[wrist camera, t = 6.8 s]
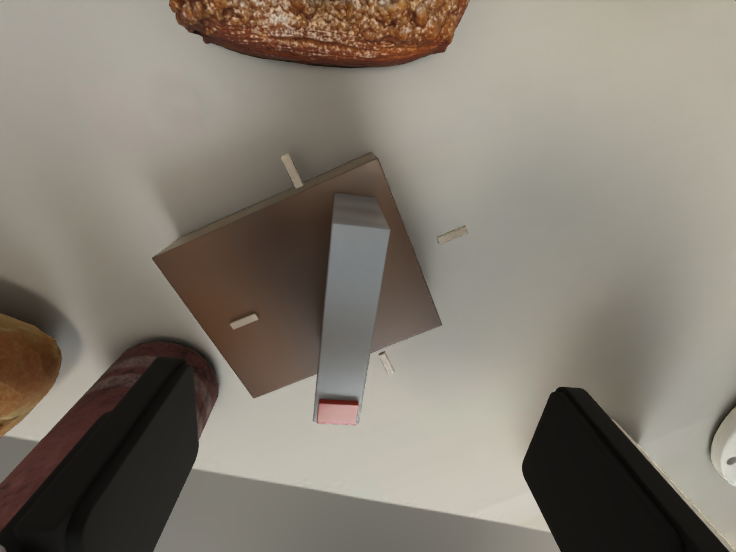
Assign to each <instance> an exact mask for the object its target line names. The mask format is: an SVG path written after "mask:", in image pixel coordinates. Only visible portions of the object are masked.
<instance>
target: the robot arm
mask: <svg viewBox="0 0 736 552" xmlns="http://www.w3.org/2000/svg"><path fill="white" fill-rule="evenodd" d="M198 448H199V442H198V428H197V414H196V400H195V386H194V372H193V367H192V365H187V364H186V360H185V359H184V358H175V357H162V356H160V357H157V358H156V359H155V360H154V361H153V362H152V363H151V365H150V366H149V367H148V368H147V369H146V371H145V372H144V373H143V374H142V375H141V377H140V378H139V379H138V380H137V381H136V382H135V384H134V385H133V386H132V387H131V388H130V390H129V391H128V392H127V393H126V394H125V396H124V397H123V398H122V399H121V400H120V402H119V403H118V404H117V405H116V406H115V407H114V409H113V410H112V411H108V412H106V413H104V414H103V415H102V416H101V417H100V418H98V419H97V421H96V422H95V423H94V424H93V425H92V426H91V428H90V429H89V430H88V431H87V432H86V433H85V434H84V436H83V437H82V438H81V439H80V440H79V441H78V443H77V444H76V445H75V446H74V447H73V448H72V450H71V451H70V452H69V453H68V454H67V455H66V456H65V458H64V459H63V460H62V461H61V462H60V463H59V465H58V466H57V467H56V468H55V469H54V470H53V471H52V473H51V474H50V475H49V476H48V477H47V478H46V480H45V481H44V482H43V483H42V484H41V485H40V487H39V488H38V489H37V490H36V491H35V492H34V493H33V495H32V496H31V497H30V498H29V499H28V500H27V502H26V503H25V504H24V505H23V506H22V507H21V508H20V510H19V511H18V512H17V513H16V514H15V515H14V517H13V518H12V519H11V520H10V521H9V522H8V524H7V525H6V526H5V527H4V528H3V529H2V530H1V532H0V552H153V550H154V548H155V546H156V544H157V542H158V539H159V537H160V535H161V533H162V531H163V529H164V527H165V525H166V522H167V520H168V518H169V516H170V514H171V512H172V509H173V507H174V505H175V503H176V501H177V499H178V497H179V494H180V492H181V490H182V488H183V486H184V484H185V482H186V479H187V477H188V475H189V473H190V471H191V469H192V467H193V464H194V462H195V460H196V457H197V453H198ZM711 460H712V463H713V466H714V467H715V469H716V470H717V472H718V473H719V474H720V475H721V476H723V477H724V478H725V479H726V480H727V481H728V482H729V483H730V484H731V485H733V486H735V487H736V407H735V408H734V409H733V410H732V411H731V412H730V413H729V414H728V415H727V417H726V418H725V419H724V420H723V422H722V423H721V425H720V426H719V428H718V430H717V432H716V434H715V436H714V439H713V442H712V445H711ZM522 472H523V476H524V478H525V480H526V482H527V484H528V486H529V488H530V490H531V492H532V494H533V496H534V498H535V500H536V502H537V504H538V506H539V508H540V510H541V512H542V514H543V516H544V519H545V521H546V523H547V525H548V527H549V529H550V531H551V533H552V535H553V536H554V539H555V541H556V543H557V545H558V546H559V549H560V551H561V552H730V551H729V550H728V549H727V548H726V547H725V546H724V545H723V544H722V542H721V541H720V540H719V539H718V538H717V537H716V536H715V535H714V533H713V532H712V531H711V530H710V529H709V528H708V527H707V526H706V525H705V523H704V522H703V521H702V520H701V519H700V518H699V517H698V516H697V514H696V513H695V512H694V511H693V510H692V509H691V508H690V507H689V506H688V504H687V503H686V502H685V501H684V500H683V499H682V498H681V497H680V495H679V494H678V493H677V492H676V491H675V490H674V489H673V488H672V486H671V485H670V484H669V483H668V482H667V481H666V480H665V479H664V478H663V476H662V475H661V474H660V473H659V472H658V471H657V470H656V469H655V467H654V466H653V465H652V464H651V463H650V462H649V461H648V460H647V458H646V457H645V456H644V455H643V454H642V453H641V452H640V451H639V450H638V448H637V447H636V446H635V445H634V444H633V443H632V442H631V441H630V439H629V438H628V437H627V436H626V435H625V434H624V433H623V432H622V430H621V429H620V428H619V427H618V426H617V425H616V424H615V423H614V422H613V420H612V419H611V418H610V417H609V416H608V415H607V414H606V413H605V411H604V410H603V409H602V408H601V407H600V406H599V405H598V404H597V402H596V401H595V400H594V399H593V398H592V397H591V396H590V395H589V394H588V392H586V391H585V390H584V389H581V388H571V387H559V388H558V389H556V391H555V392H552V393H551V394H550V396H549V399H548V401H547V404H546V406H545V408H544V411H543V413H542V416H541V418H540V421H539V423H538V426H537V428H536V431H535V433H534V436H533V438H532V441H531V443H530V445H529V448H528V450H527V453H526V455H525V458H524V460H523V463H522Z"/></svg>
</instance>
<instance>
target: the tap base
mask: <svg viewBox="0 0 736 552" xmlns="http://www.w3.org/2000/svg"><path fill="white" fill-rule="evenodd" d="M280 158H281V160H282V162H283V164H284V166H285V168H286V170H287V172H288V174H289V176H290V178H291V180H292V182H293V184H294V186H295V187H293V188H290V189H288V190H286V191H284V192H281V193H279V194H277V195H275V196H273V197H270V198H268V199H266V200H264V201H261V202H259V203H257V204H255V205H252V206H250V207H248V208H246V209H243V210H241V211H239V212H237V213H234V214H232V215H230V216H228V217H225V218H223V219H221V220H219V221H216V222H214V223H212V224H210V225H208V226H205V227H203V228H201V229H199V230H196V231H194V232H192V233H190V234H187V235H185V236H183V237H181V238H179V239H177V240H176V241H175V242H173V243H172V244H170V245H169V246H168V247H166V248H165V249H163V250H162V251H161V252H159V253H158V254H157V255H155V256H154V257H152V259H153V261H154V262H155V263H156V265H157V266H158V268H159V269H160V270H161V272H162V273H163V274H164V276H165V277H166V279H167V280H168V281H169V283H170V284H171V285H172V287H173V288H174V290H175V291H176V292H177V294H178V295H179V296H180V298H181V299H182V301H183V302H184V303H185V305H186V306H187V307H188V309H189V310H190V312H191V313H192V314H193V316H194V317H195V318H196V320H197V321H198V323H199V324H200V325H201V327H202V328H203V329H204V331H205V332H206V334H207V335H208V336H209V338H210V339H211V340H212V342H213V343H214V345H215V346H216V347H217V349H218V350H219V351H220V353H221V354H222V356H223V357H224V358H225V360H226V361H227V362H228V364H229V365H230V367H231V368H232V369H233V371H234V372H235V373H236V375H237V376H238V378H239V379H240V380H241V382H242V383H243V384H244V386H245V387H246V389H247V390H248V391H249V393H250V394H251V395H252V397H253V398H256V397H259V396H261V395H264V394H266V393H269V392H272V391H274V390H277V389H279V388H282V387H284V386H287V385H290V384H292V383H295V382H297V381H300V380H302V379H305V378H307V377H310V376H313V375H315V374H317V371H318V360H319V349H320V338H321V328H322V318H323V307H324V297H325V287H326V276H327V266H328V255H329V245H330V235H331V224H332V214H333V204H334V194H335V193H341V194H350V195H358V196H366V197H374V198H376V200H377V202H378V204H379V207H380V209H381V211H382V213H383V215H384V217H385V220H386V222H387V224H388V226H389V228H390V235H389V241H388V247H387V253H386V259H385V265H384V271H383V277H382V284H381V290H380V296H379V302H378V308H377V314H376V320H375V326H374V333H373V339H372V345H371V351H370V353H372V352H374V351H377V350H379V349H382V348H384V347H387V346H390V345H392V344H395V343H397V342H400V341H402V340H405V339H407V338H410V337H413V336H415V335H418V334H420V333H423V332H425V331H428V330H431V329H433V328H436V327H438V326H441V325H442V323H441V320H440V318H439V315H438V312H437V310H436V307H435V305H434V302H433V300H432V297H431V294H430V292H429V289H428V287H427V284H426V281H425V279H424V276H423V274H422V271H421V268H420V266H419V263H418V261H417V258H416V255H415V253H414V250H413V248H412V245H411V242H410V240H409V237H408V235H407V232H406V229H405V227H404V224H403V222H402V219H401V217H400V214H399V211H398V209H397V206H396V204H395V201H394V198H393V196H392V193H391V191H390V188H389V185H388V183H387V180H386V178H385V175H384V172H383V170H382V167H381V165H380V162H379V159H378V158H377V157H376V156H375V155H374V154H373V153H369V154H367V155H364V156H362V157H360V158H358V159H355V160H353V161H351V162H349V163H346V164H344V165H342V166H340V167H337V168H335V169H333V170H331V171H329V172H326V173H324V174H322V175H320V176H317V177H315V178H313V179H311V180H308V181H306V182H304V183H303V182H302V180H301V178H300V176H299V174H298V172H297V169H296V167H295V165H294V163H293V161H292V159H291V157H290V155H289V153H287V154H285V155H283V156H281V157H280ZM467 233H468V231H467V228H466V226H465V225H464V226H462V227H460V228H457V229H455V230H452V231H450V232H448V233H445V234H443V235H440V236H438V237H437V240H438V243H439V244H442V243H445V242H447V241H450V240H452V239H454V238H457V237H459V236H462V235H464V234H467ZM379 357H380V359H381V361H382V363H383V365H384V367H385V369H386V371H387V373H388V375H389V374H391V373H394V370H393V367H392V365H391V363H390V361H389V359H388V357H387V355H386V353H385V352H382V353H379Z"/></svg>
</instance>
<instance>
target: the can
mask: <svg viewBox="0 0 736 552" xmlns="http://www.w3.org/2000/svg"><path fill="white" fill-rule="evenodd" d="M160 356H162V357H175V358H184V359H185V360H186V364H187V365H192V367H193V372H194V386H195V400H196V414H197V428H198V440H199V438H200V436H201V434H202V431H203V429H204V427H205V424H206V422H207V420H208V418H209V415H210V413H211V411H212V409H213V406H214V404H215V402H216V400H217V397H218V388H219V383H218V380H217V378H216V375H215V372H214V370H213V368H212V366H211V365H210V364H209V362H208V361H207V360H206V359H205V357H204V356H202V355H201V354H199V353H198V352H197V351H195V350H194V349H192V348H190V347H187V346H185V345H182V344H179V343H174V342H166V341H160V342H152V343H144V344H139V345H137V346H135V347H133V348H130V349H128V350H126V351H125V352H124V353H123V354H122V355H121V356H120V357H119V358H118V359H117V360H116V361H115V362H114V363H113V364H112V365H111V367H110V368H109V369H108V370H107V371H106V372H105V373H104V374H103V375H102V376H101V377H100V378H99V379H98V380H97V382H96V383H95V384H94V385H93V386H92V387H91V388H90V389H89V390H88V391H87V392H86V393H85V394H84V395H83V396H82V398H81V399H80V400H79V401H78V402H77V403H76V404H75V405H74V406H73V407H72V408H71V409H70V410H69V411H68V412H67V414H66V415H65V416H64V417H63V418H62V419H61V420H60V421H59V422H58V423H57V424H56V425H55V426H54V427H53V428H52V430H51V431H50V432H49V433H48V434H47V435H46V436H45V437H44V438H43V439H42V440H41V441H40V442H39V443H38V445H37V446H36V447H35V448H34V449H33V450H32V451H31V452H30V453H29V454H28V455H27V456H26V457H25V458H24V459H23V460H22V462H21V463H20V464H19V465H18V466H17V467H16V468H15V469H14V470H13V471H12V472H11V473H10V474H9V476H8V477H7V478H6V479H5V480H4V481H3V482H2V483H1V484H0V532H1V530H2V529H3V528H4V527H5V526H6V525H7V524H8V522H9V521H10V520H11V519H12V518H13V517H14V515H15V514H16V513H17V512H18V511H19V510H20V508H21V507H22V506H23V505H24V504H25V503H26V502H27V500H28V499H29V498H30V497H31V496H32V495H33V493H34V492H35V491H36V490H37V489H38V488H39V487H40V485H41V484H42V483H43V482H44V481H45V480H46V478H47V477H48V476H49V475H50V474H51V473H52V471H53V470H54V469H55V468H56V467H57V466H58V465H59V463H60V462H61V461H62V460H63V459H64V458H65V456H66V455H67V454H68V453H69V452H70V451H71V450H72V448H73V447H74V446H75V445H76V444H77V443H78V441H79V440H80V439H81V438H82V437H83V436H84V434H85V433H86V432H87V431H88V430H89V429H90V428H91V426H92V425H93V424H94V423H95V422H96V421H97V419H98V418H100V417H101V416H102V415H103V414H104V413H106V412H108V411H112V410H113V409H114V407H115V406H116V405H117V404H118V403H119V402H120V400H121V399H122V398H123V397H124V396H125V394H126V393H127V392H128V391H129V390H130V388H131V387H132V386H133V385H134V384H135V382H136V381H137V380H138V379H139V378H140V377H141V375H142V374H143V373H144V372H145V371H146V369H147V368H148V367H149V366H150V365H151V363H152V362H153V361H154V360H155V359H156V358H157V357H160Z"/></svg>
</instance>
